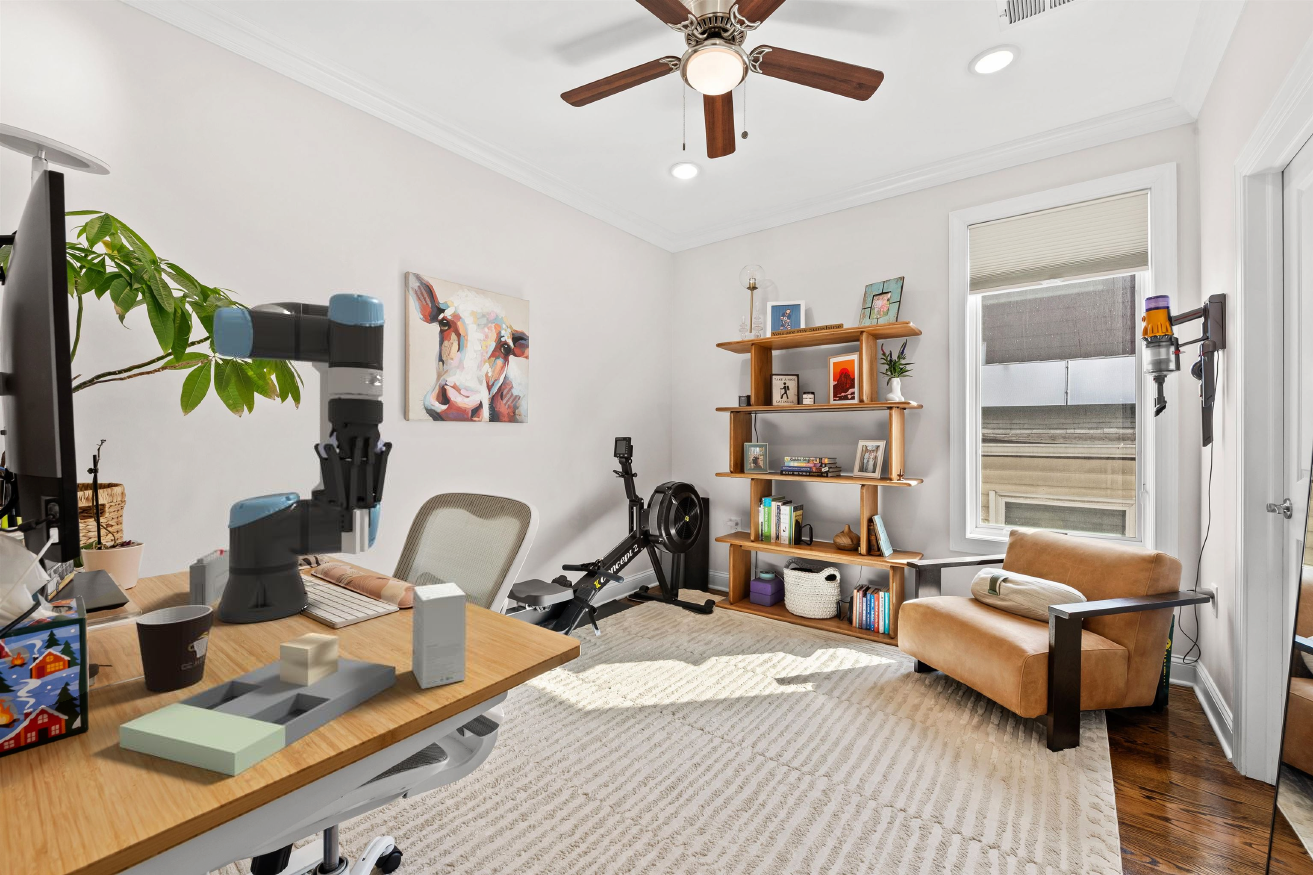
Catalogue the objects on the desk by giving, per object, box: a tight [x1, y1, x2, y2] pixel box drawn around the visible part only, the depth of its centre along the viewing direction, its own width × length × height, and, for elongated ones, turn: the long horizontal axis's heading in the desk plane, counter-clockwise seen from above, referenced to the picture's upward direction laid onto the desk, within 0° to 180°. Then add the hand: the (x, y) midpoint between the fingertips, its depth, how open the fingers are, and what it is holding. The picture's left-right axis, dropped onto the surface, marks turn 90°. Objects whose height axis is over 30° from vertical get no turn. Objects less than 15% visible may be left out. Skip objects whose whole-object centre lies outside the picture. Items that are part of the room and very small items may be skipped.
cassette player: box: [189, 548, 229, 607], centre depth 125 cm, size 16×3×10 cm, turn 17°
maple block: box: [279, 632, 339, 686], centre depth 82 cm, size 5×5×5 cm
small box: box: [411, 582, 467, 690], centre depth 89 cm, size 8×6×13 cm
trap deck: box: [119, 656, 397, 777], centre depth 77 cm, size 24×18×2 cm
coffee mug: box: [135, 604, 214, 694], centre depth 86 cm, size 12×9×10 cm
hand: (355, 551), depth 89 cm, fingers closed
